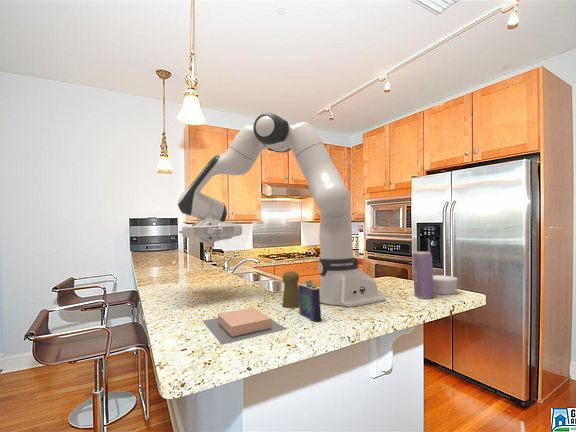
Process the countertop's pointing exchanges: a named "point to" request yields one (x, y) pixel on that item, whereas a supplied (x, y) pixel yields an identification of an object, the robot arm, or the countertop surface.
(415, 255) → the beverage can
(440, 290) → the ramekin
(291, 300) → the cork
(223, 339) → the slate board
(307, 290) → the flask
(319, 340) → the countertop surface
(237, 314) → the tile
